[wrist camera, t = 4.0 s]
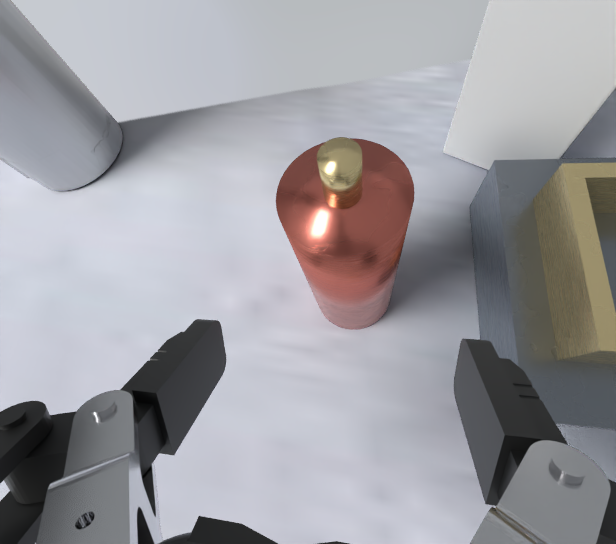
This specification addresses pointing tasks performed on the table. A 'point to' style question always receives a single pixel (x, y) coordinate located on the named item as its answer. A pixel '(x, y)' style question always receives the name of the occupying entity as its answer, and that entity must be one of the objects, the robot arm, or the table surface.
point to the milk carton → (534, 79)
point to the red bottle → (347, 225)
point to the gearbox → (551, 279)
